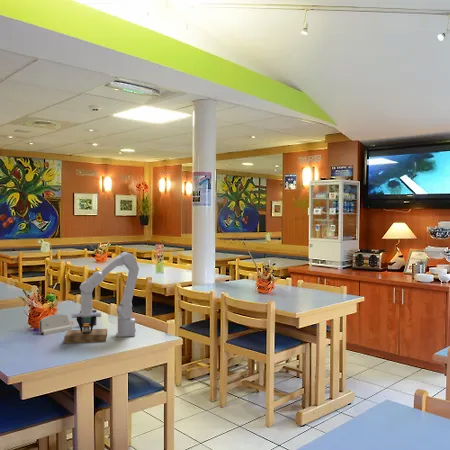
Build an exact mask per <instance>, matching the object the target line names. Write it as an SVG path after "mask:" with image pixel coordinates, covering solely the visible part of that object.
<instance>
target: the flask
mask: <svg viewBox="0 0 450 450" xmlns="http://www.w3.org/2000/svg"><path fill="white" fill-rule="evenodd" d="M92 312H94V313H97V309H93V308H92ZM79 313H81V310H79ZM83 323H91V317H82V324H83ZM94 326H97V318H96V319H95V322H94V324H93V327H94Z"/></svg>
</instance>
